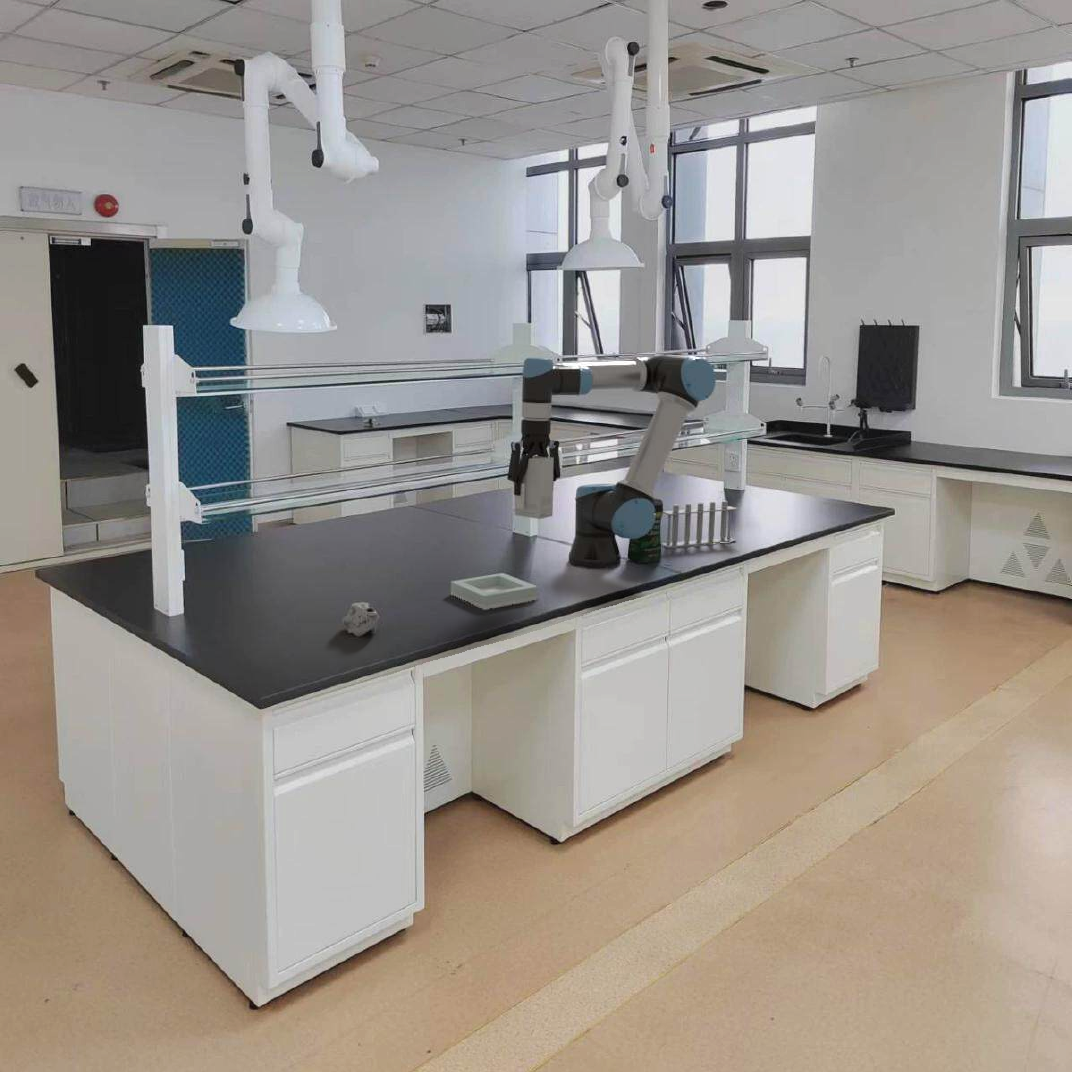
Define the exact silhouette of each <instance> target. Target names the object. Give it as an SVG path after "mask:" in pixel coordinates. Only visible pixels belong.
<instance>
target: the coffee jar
mask: <svg viewBox="0 0 1072 1072" xmlns="http://www.w3.org/2000/svg"><path fill="white" fill-rule="evenodd" d="M653 506H654V508H655V512H654V513H655V514H656V517H655V522H654V524H653V526H652V528H651V529H650V531H649V532H648V533H647V534H645V535H644V536H642V537H640V538H637V539H628V543H629V544H628V549H627V559H628V560H629V561H630V562H632V563H639V564H648V563H649V564H650V563H655V562H660V560H661V559H662V546H661V538H662V537H661V522H662V518H663V515H664V513H663V511H664V503H663V500H662V499H659V498H656V497H655V501H654V504H653Z"/></svg>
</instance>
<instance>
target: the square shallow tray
mask: <svg viewBox="0 0 1072 1072" xmlns="http://www.w3.org/2000/svg"><path fill="white" fill-rule="evenodd" d="M538 588H539V587H538V585H535V584H532V583H529V582H528V581H524V580H522V579H520V578H516V577H514V576H512V575H509V574H508V573H507V574H506V573H504V572H501V573H499V572H498V573H495V574H487V575H483V576H477V577H476V576H475V577H470V578H463V579H458V580H451V581H450V595H451V596H453V595H454V596H453V597H455V596H456V597H455V598H457V597H458V599H459V598H460V600H461V599H462V601H464V600H465V601H464V602H466V601H468V602H470V603H471V604H470V603H469V604H470V605H472V604H473V606H475V607H477V608H479V609H481V608H482V609H481V610H490V608H492V609H496V608H497V609H498V608H501V607H507V606H512V604H513V605H518V604H523V603H529V602H533V601H532V600H534V601H537V600H538V590H539V589H538ZM528 601H529V602H528ZM468 602H467V603H468Z"/></svg>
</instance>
